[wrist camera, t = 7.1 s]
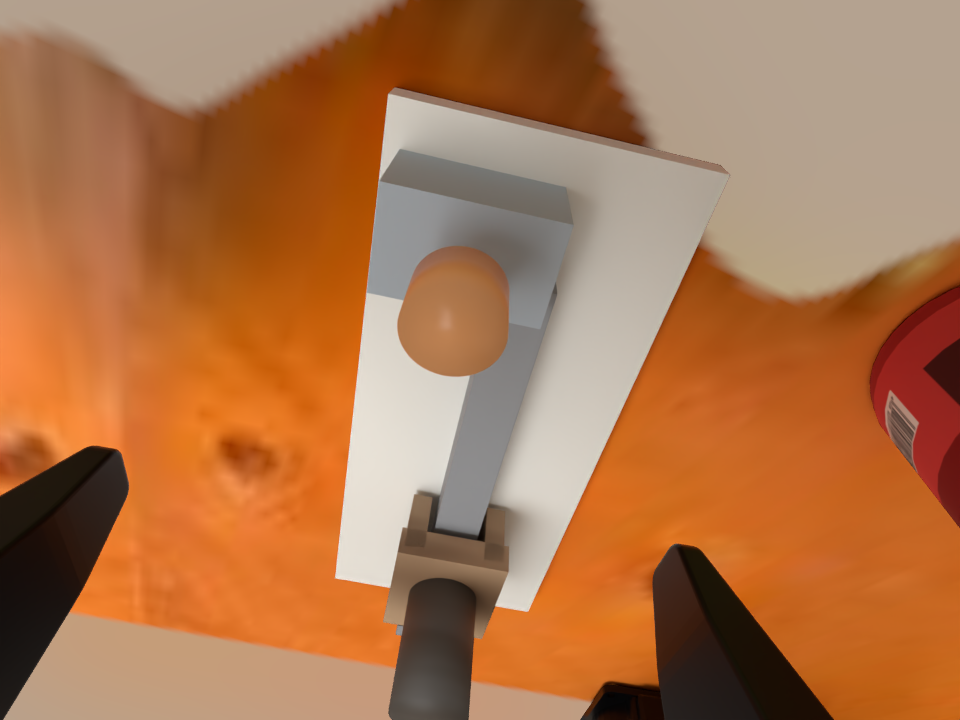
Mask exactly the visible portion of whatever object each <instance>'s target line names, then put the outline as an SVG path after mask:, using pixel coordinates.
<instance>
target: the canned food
mask: <svg viewBox="0 0 960 720" xmlns="http://www.w3.org/2000/svg"><path fill="white" fill-rule="evenodd" d="M870 394H871V399H872V403H873V407H874V410H875V413H876V416H877V419H878V421H879V424H880V425H881V427H882V428H883V429H884V431H885V432H886V433H887V435H888V436H889V437H890V438H891V440H892V441H893V442H894V444H895V445H896V446H897V447H898V449H899V450H900V451H901V453H902V454H903V455H904V456H905V458H906V459H907V460H908V462H909V463H910V464H911V466H912V467H913V468H914V469H915V471H916V472H917V473H918V475H919V476H920V477H921V478H922V480H923V481H924V482H925V484H926V485H927V486H928V488H929V489H930V490H931V491H932V493H933V494H934V495H935V497H936V498H937V499H938V500H939V502H940V503H941V504H942V506H943V507H944V508H945V509H946V511H947V512H948V513H949V515H950V516H951V517H952V519H953V520H954V521H955V522H956V524H957V525H958V526H959V528H960V287H958V288H955V289H953V290H950V291H948V292H946V293H944V294H943V295H941V296H939V297H937V298H936V299H934V300H932V301H930V302H928V303H927V304H925V305H924V306H923V307H921V308H920V309H919V310H917V311H916V312H915V313H913V314H912V315H911V316H909V317H908V318H907V319H906V320H905V321H904V322H903V323H902V324H901V325H900V326H899V327H898V328H897V329H896V330H895V331H894V332H893V333H892V334H891V336H890V337H889V339H888V340H887V341H886V343H885V344H884V345H883V347H882V348H881V350H880V352H879V354H878V356H877V358H876V360H875V363H874V365H873V368H872V373H871V378H870Z"/></svg>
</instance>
